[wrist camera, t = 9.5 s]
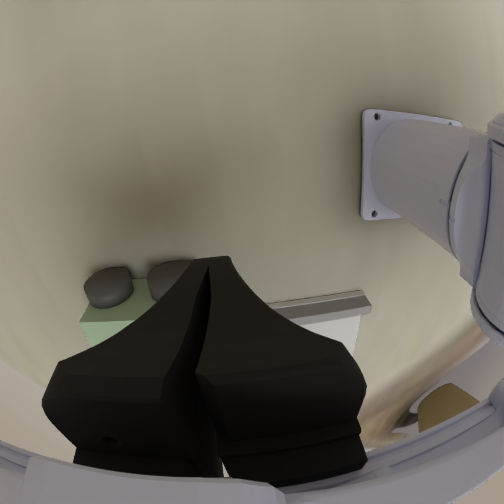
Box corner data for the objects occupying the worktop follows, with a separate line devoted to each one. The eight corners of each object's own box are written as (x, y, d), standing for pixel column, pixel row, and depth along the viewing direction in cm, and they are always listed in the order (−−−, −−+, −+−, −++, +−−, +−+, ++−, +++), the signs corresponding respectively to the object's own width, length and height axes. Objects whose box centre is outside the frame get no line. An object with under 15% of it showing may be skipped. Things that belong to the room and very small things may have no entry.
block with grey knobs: (368, 239, 21) (409, 281, 16) (340, 396, 31) (355, 438, 25) (93, 269, 20) (62, 319, 15) (161, 416, 30) (157, 459, 24)
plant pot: (482, 365, 35) (525, 429, 21) (431, 419, 41) (462, 481, 27) (440, 365, 31) (492, 452, 17) (379, 427, 37) (410, 506, 23)
